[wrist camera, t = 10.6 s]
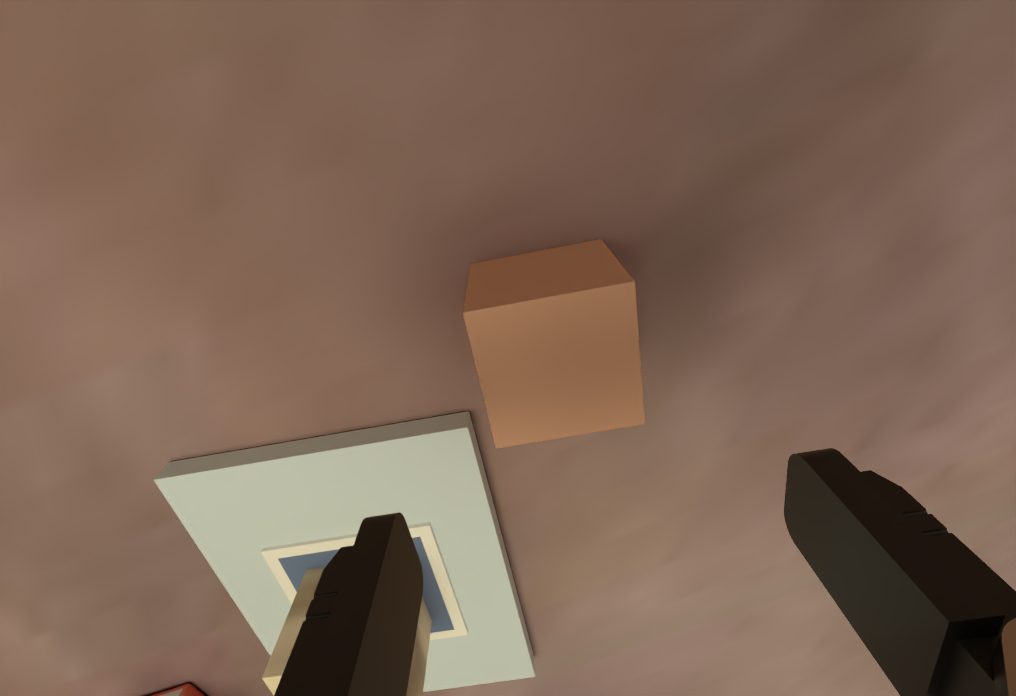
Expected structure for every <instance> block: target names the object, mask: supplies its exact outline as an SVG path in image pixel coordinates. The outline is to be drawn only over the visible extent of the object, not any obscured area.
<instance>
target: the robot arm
mask: <svg viewBox="0 0 1016 696" xmlns="http://www.w3.org/2000/svg"><path fill="white" fill-rule="evenodd" d="M784 516H785V522H786V525H787V528H788V531H789V534H790V536H791V538H792V540H793V541H794V543H795V545H796V546H797V547H798V549H799V550H800V552H801V553H802V555H803V556H804V558H805V559H806V560H807V562H808V563H809V565H810V566H811V568H812V569H813V571H814V572H815V573H816V575H817V576H818V578H819V579H820V581H821V582H822V583H823V585H824V586H825V588H826V589H827V591H828V592H829V594H830V595H831V596H832V598H833V599H834V601H835V602H836V604H837V605H838V607H839V608H840V609H841V611H842V612H843V614H844V615H845V617H846V618H847V619H848V621H849V622H850V624H851V625H852V627H853V628H854V630H855V631H856V632H857V634H858V635H859V637H860V638H861V640H862V641H863V643H864V644H865V645H866V647H867V648H868V650H869V651H870V653H871V654H872V655H873V657H874V658H875V660H876V661H877V663H878V664H879V666H880V667H881V668H882V670H883V671H884V673H885V674H886V676H887V677H888V679H889V680H890V681H891V683H892V684H893V686H894V687H895V689H896V690H897V691H898V693H899V694H900V696H1016V591H1015V590H1014V589H1012V588H1011V587H1010V586H1009V585H1008V584H1007V583H1006V582H1005V581H1004V580H1003V579H1002V578H1000V577H999V576H998V575H997V574H996V573H995V572H994V571H993V570H992V569H991V568H990V567H988V566H987V565H986V564H985V563H984V562H983V561H982V560H981V559H980V558H979V557H978V556H976V555H975V554H974V553H973V552H972V551H971V550H970V549H969V548H968V547H967V546H966V545H964V544H963V543H962V542H961V541H960V540H959V539H958V538H957V537H956V536H955V535H954V534H952V533H948V532H947V528H946V527H945V526H944V525H943V524H942V523H940V522H939V521H938V520H937V519H936V518H935V517H934V516H933V515H932V514H928V513H927V512H926V509H925V508H924V507H923V506H922V505H921V504H920V503H919V502H918V501H916V500H915V499H914V498H913V497H912V496H911V495H910V494H909V493H908V492H907V491H906V490H904V489H903V488H902V487H900V486H899V485H897V484H895V483H893V482H891V481H889V480H888V479H886V478H884V477H882V476H880V475H878V474H876V473H875V472H873V471H871V470H870V471H863V472H860V471H859V470H858V469H857V468H856V467H855V466H854V465H853V464H852V463H851V462H850V461H849V460H848V459H847V458H845V457H844V456H843V455H842V454H841V453H840V452H839V451H837V450H836V449H832V448H830V449H823V450H817V451H810V452H803V453H797V454H792V455H791V456H790V458H789V460H788V469H787V481H786V493H785V504H784ZM422 595H423V571H422V566H421V562H420V559H419V556H418V553H417V551H416V548H415V545H414V542H413V540H412V537H411V534H410V531H409V529H408V526H407V523H406V520H405V518H404V516H403V514H402V513H400V512H398V513H392V514H385V515H379V516H372V517H366V518H364V519H363V521H362V523H361V525H360V528H359V531H358V534H357V537H356V540H355V543H354V545H353V546H346V547H341V548H340V549H339V551H338V552H337V553H336V554H335V556H334V557H333V558H332V559H331V561H330V562H329V563H328V564H327V566H326V567H325V568H324V570H323V572H322V574H321V577H320V579H319V582H318V585H317V587H316V590H315V592H314V599H313V600H311V602H310V605H309V608H308V610H307V613H306V615H305V616H306V620H305V621H303V623H302V626H301V628H300V631H299V633H298V636H297V638H296V641H295V643H294V646H293V649H292V651H291V654H290V656H289V659H288V661H287V664H286V666H285V669H284V672H283V674H282V677H281V679H280V682H279V684H278V687H277V689H276V692H275V695H274V696H406V694H407V688H408V681H409V675H410V669H411V663H412V657H413V651H414V644H415V638H416V632H417V626H418V620H419V613H420V607H421V601H422Z"/></svg>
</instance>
